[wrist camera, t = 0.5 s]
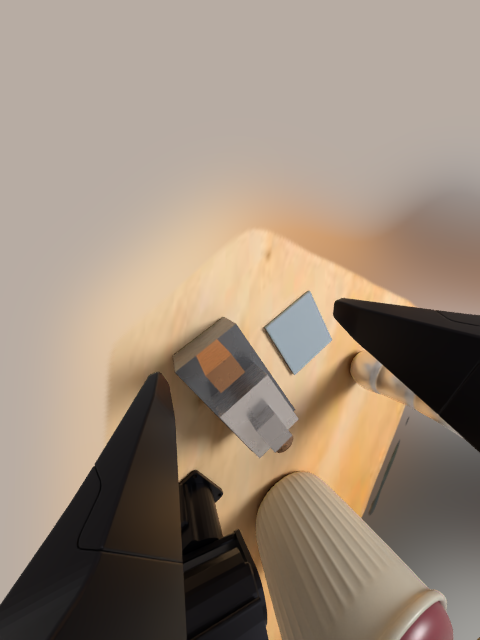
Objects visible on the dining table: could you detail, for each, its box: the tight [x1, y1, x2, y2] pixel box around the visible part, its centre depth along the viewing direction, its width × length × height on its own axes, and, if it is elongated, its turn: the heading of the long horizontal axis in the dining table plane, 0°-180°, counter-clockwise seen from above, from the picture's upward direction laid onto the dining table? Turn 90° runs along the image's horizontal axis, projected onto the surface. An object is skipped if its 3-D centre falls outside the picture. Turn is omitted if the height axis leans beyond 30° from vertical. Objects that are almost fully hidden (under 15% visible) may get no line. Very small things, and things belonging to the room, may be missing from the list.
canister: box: [256, 471, 453, 640], centre depth 23 cm, size 18×18×21 cm
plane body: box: [173, 317, 295, 453], centre depth 20 cm, size 14×7×8 cm, turn 34°
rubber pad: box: [264, 291, 332, 375], centre depth 26 cm, size 9×8×1 cm
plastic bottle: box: [350, 350, 464, 439], centre depth 24 cm, size 6×7×20 cm
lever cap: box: [211, 362, 298, 458], centre depth 18 cm, size 7×5×4 cm
